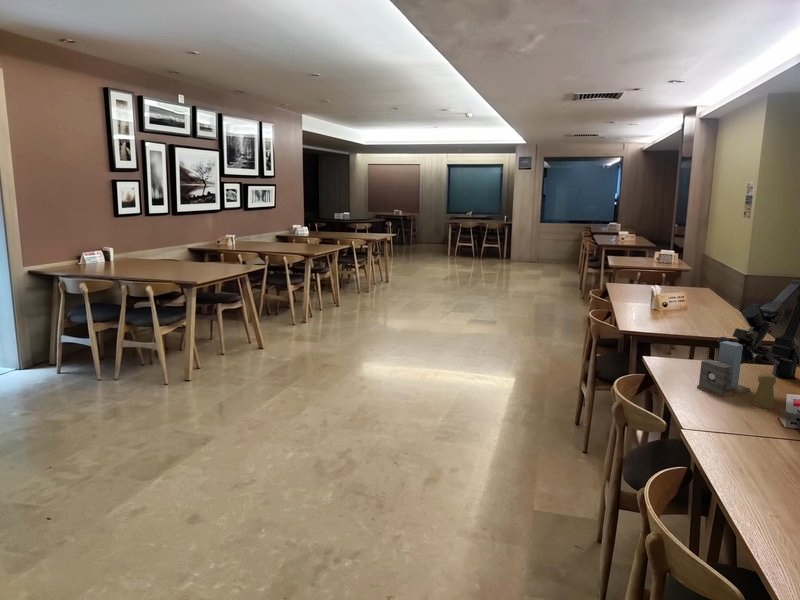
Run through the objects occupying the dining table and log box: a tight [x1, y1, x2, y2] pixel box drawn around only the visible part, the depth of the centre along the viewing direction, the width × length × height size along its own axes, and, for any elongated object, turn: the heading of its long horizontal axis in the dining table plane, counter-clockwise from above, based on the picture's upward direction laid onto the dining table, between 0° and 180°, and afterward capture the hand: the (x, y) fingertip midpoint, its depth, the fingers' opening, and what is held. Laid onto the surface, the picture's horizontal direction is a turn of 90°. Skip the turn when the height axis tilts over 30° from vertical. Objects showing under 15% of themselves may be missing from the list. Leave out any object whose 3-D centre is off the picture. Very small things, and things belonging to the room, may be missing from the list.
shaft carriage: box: [709, 341, 743, 389], centre depth 208 cm, size 11×6×16 cm, turn 116°
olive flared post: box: [752, 373, 777, 410], centre depth 194 cm, size 6×6×11 cm
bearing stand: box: [696, 359, 751, 398], centre depth 209 cm, size 16×10×11 cm, turn 116°
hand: (732, 366), depth 210 cm, fingers closed, pressing on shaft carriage
